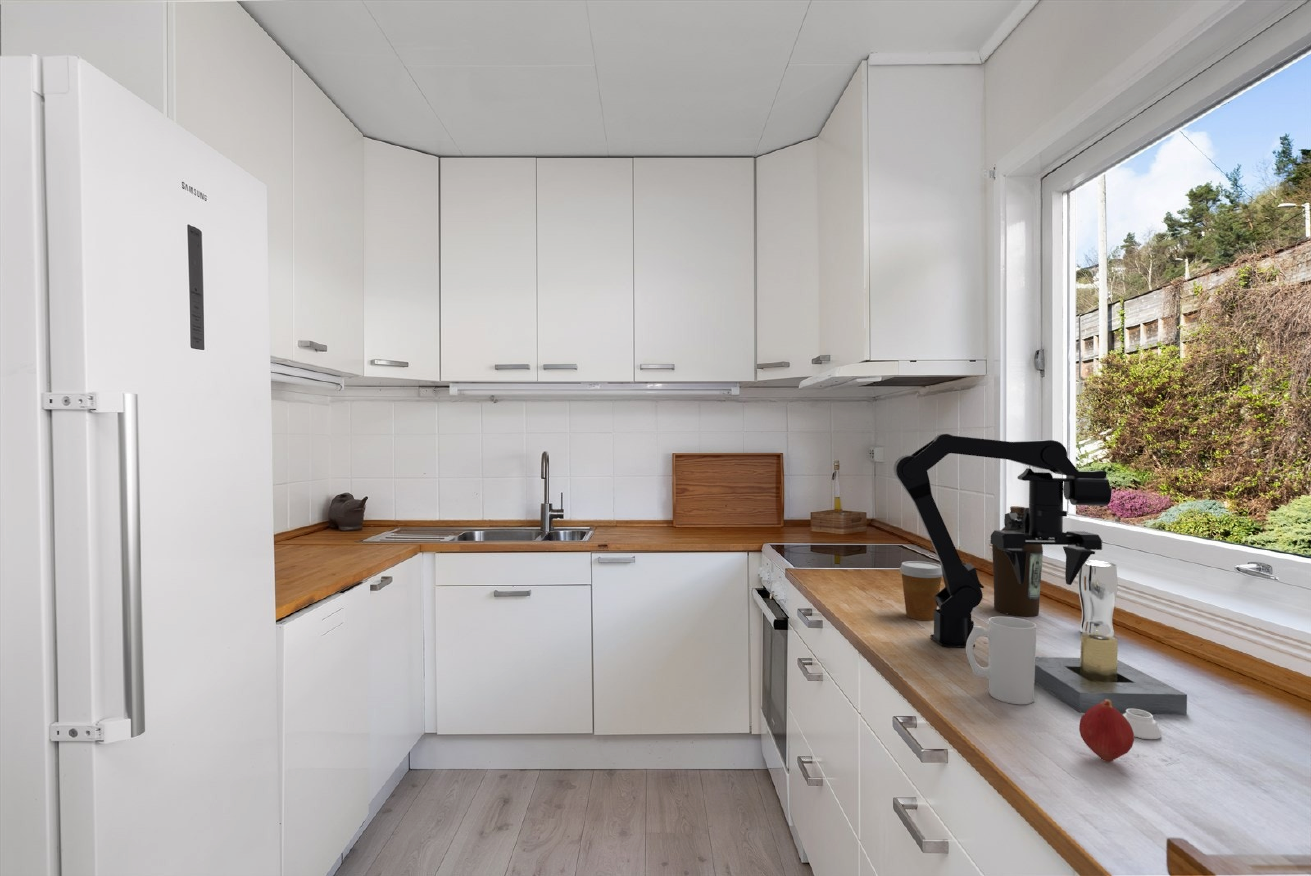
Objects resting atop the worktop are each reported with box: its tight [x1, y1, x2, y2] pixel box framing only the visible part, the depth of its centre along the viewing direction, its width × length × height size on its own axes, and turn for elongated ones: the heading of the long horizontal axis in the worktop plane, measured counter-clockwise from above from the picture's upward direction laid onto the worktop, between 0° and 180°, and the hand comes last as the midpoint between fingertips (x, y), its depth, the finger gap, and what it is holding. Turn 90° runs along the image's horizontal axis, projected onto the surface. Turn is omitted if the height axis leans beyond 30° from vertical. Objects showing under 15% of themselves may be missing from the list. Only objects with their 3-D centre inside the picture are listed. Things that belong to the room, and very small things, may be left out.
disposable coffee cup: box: [899, 560, 943, 621], centre depth 152 cm, size 10×10×12 cm
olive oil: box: [991, 505, 1044, 617], centre depth 157 cm, size 11×11×25 cm
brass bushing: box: [1079, 633, 1119, 682], centre depth 107 cm, size 5×5×9 cm
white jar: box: [1122, 709, 1162, 740], centre depth 93 cm, size 5×3×5 cm
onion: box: [1078, 699, 1135, 763], centre depth 85 cm, size 6×6×8 cm
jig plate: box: [1034, 656, 1188, 715], centre depth 107 cm, size 16×16×3 cm
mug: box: [965, 616, 1038, 706], centre depth 106 cm, size 10×7×12 cm, turn 71°
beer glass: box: [1077, 559, 1118, 638], centre depth 140 cm, size 7×7×15 cm
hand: (1044, 584), depth 128 cm, fingers open, 9 cm apart
